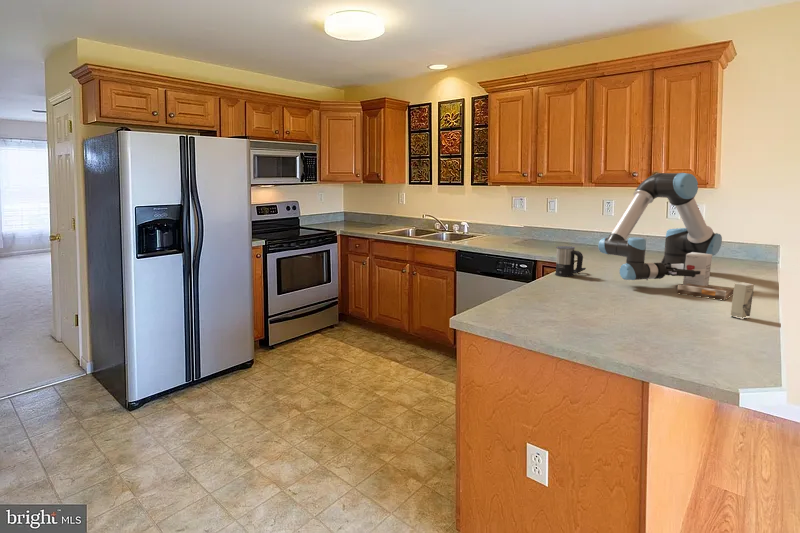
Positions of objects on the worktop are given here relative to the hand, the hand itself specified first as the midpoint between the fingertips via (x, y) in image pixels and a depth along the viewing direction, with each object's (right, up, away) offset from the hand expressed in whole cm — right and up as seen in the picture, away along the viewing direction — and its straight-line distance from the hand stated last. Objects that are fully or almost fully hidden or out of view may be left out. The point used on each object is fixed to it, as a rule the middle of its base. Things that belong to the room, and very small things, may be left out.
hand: (693, 269), depth 236 cm
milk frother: (-49, -3, +27) cm, 56 cm away
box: (-13, -18, -51) cm, 55 cm away
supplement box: (+2, -8, +2) cm, 8 cm away
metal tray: (-4, -11, -15) cm, 19 cm away
